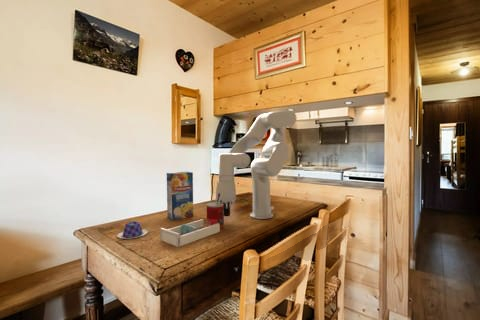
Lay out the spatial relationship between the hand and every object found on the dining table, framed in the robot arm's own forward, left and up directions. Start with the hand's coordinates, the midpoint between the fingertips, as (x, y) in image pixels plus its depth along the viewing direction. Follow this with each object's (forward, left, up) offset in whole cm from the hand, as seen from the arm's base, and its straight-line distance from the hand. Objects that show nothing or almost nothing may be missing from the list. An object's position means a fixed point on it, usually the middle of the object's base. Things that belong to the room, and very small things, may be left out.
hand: (226, 215), depth 118 cm
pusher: (+24, 0, -3) cm, 24 cm away
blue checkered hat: (+37, -21, -4) cm, 43 cm away
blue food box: (+7, -28, -4) cm, 29 cm away
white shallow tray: (+22, 0, -4) cm, 22 cm away
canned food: (+8, 0, -4) cm, 9 cm away
